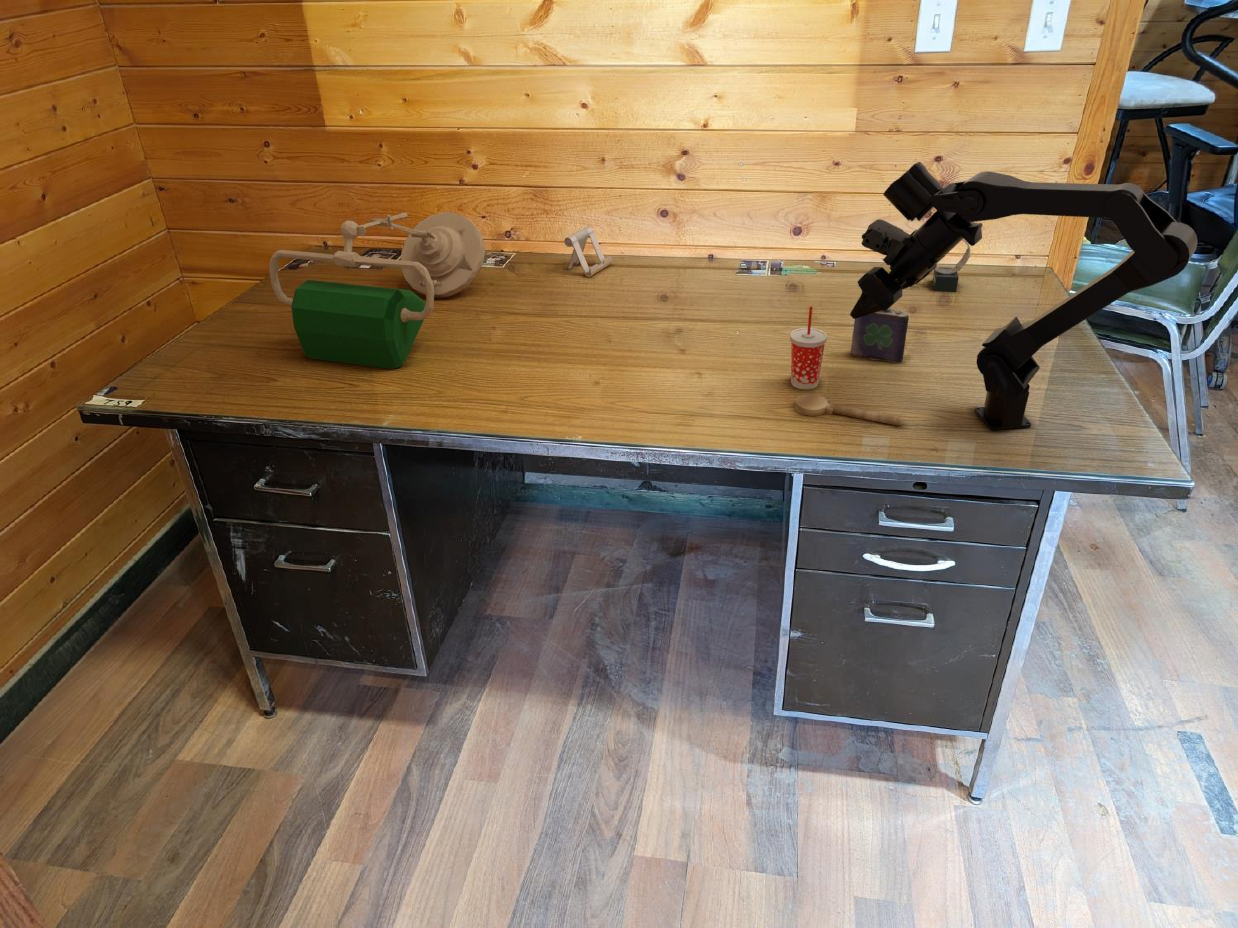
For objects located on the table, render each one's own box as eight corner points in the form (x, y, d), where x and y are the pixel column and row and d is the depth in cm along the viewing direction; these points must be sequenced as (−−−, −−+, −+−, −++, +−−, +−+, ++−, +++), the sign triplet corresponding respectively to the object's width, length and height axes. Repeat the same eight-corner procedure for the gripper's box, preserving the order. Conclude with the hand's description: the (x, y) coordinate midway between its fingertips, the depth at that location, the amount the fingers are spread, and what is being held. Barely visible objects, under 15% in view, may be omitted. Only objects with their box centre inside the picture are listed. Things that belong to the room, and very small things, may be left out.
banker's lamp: (349, 393, 198) (232, 332, 161) (393, 219, 204) (291, 123, 168) (491, 413, 188) (401, 354, 151) (533, 229, 194) (456, 130, 158)
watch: (922, 280, 191) (930, 229, 185) (962, 282, 189) (971, 231, 183) (924, 290, 186) (932, 238, 180) (965, 292, 184) (974, 240, 178)
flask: (848, 356, 162) (855, 300, 156) (852, 349, 164) (859, 294, 158) (901, 364, 158) (910, 308, 153) (904, 357, 161) (912, 301, 155)
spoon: (905, 418, 143) (906, 410, 142) (898, 433, 139) (899, 425, 138) (800, 398, 150) (801, 390, 149) (791, 412, 146) (791, 404, 145)
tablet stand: (591, 278, 199) (589, 241, 194) (562, 272, 202) (559, 236, 198) (612, 265, 205) (610, 229, 200) (583, 260, 209) (581, 224, 204)
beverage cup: (809, 395, 150) (816, 317, 143) (779, 384, 154) (784, 308, 146) (829, 382, 154) (837, 305, 146) (799, 371, 158) (805, 296, 150)
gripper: (917, 189, 142) (854, 254, 154) (868, 221, 130) (804, 289, 142) (966, 239, 141) (899, 301, 153) (922, 276, 129) (852, 341, 141)
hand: (864, 307), depth 147 cm, fingers open, 9 cm apart
